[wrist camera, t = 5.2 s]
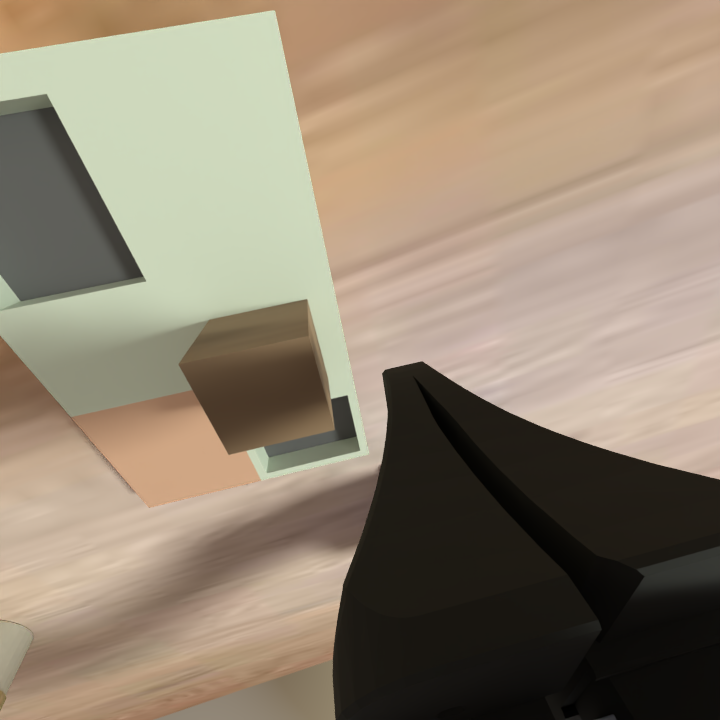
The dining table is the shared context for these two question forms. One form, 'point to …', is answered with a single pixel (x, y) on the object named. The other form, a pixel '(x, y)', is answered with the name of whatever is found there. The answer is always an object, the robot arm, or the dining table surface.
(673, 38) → the dining table surface
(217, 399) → the block
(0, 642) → the coffee cup
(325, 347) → the board
